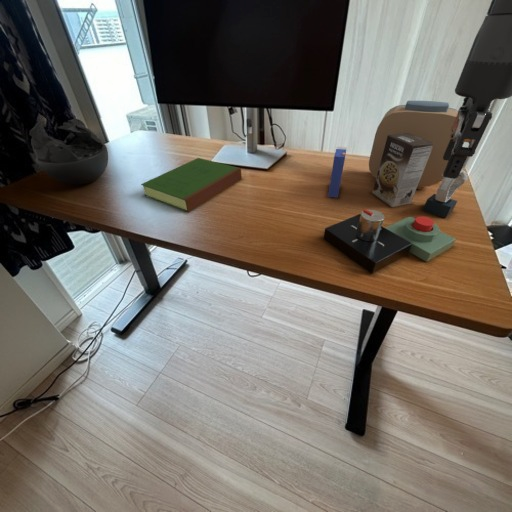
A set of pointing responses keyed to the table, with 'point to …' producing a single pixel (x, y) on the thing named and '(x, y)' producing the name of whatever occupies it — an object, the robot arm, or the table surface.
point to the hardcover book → (192, 183)
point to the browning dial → (369, 225)
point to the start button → (423, 224)
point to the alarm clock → (418, 134)
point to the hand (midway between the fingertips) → (449, 168)
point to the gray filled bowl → (70, 153)
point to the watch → (445, 196)
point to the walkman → (337, 171)
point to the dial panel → (367, 245)
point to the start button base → (422, 239)
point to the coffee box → (401, 168)
